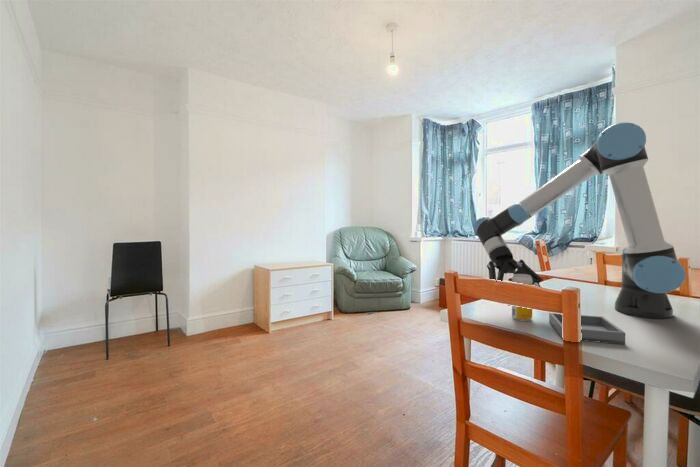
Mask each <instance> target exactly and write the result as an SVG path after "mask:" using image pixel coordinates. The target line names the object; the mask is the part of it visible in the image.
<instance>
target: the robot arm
mask: <svg viewBox="0 0 700 467" xmlns="http://www.w3.org/2000/svg"><path fill="white" fill-rule="evenodd" d="M646 143H647V134H646V132H645V130H644V129H643V128H642V126H640V125H638V124H636V123H632V122H625V121H624V122H617V123H615V124H612V125H610V126H608V127H606V128H605V129H603V130H602V131H601V132H600V133H599V135H598V136H597V138H596V141H595V142H594V143H593V144H592V146H591V147H590V148H588V149H587V150H586V151H585V152H584V153H582V154H581V155H580V156H579V159H578V160H577V161H575V162H574V163H573V164H572V165H570V166H568V167H566V168H565V169H564V170H563V171H562V172H560V173H558V174H557V175H556V176H555V177H553V178H552V179H550V180H549V181H547V182H546V183H545V184H543V185H542V186H540V187H539V188H538V189H536V190H534V191H533V192H532V193H531V194H530V195H527V196H526V197H525V198H524V199H522V200H520V201H519V202H516V203H514V204H511V205H509V207H507V208H505V209H504V210H502V211H501V212H499V213H498V214H497V215H495V216H493V217H492V218H491V217H489V216H483V217H482V218H481V217H480V218H478V219H477V220H475V221H474V223H473V229H474V231H475V233H476V236H477V237H478V239H479V240H480V243H481V245H482V246H483V248H484V250H485V251H486V254H487V255H488V257H489V260H490V261H489V262H488V263H487V265H486V268H487V269H488V278H489V279H495V280H496V281H497V280H501V281H503V282H504V276H505V274H513V275H514V274H527V275H531V277H532V279H533V283H532V285H535V286H538V287H541V288H542V286H541V285H540V283H541V282H542V281H543V278H542V277H540V276H539V275H538V274H537V273H536V272H535V271H534V270H533V269H531V267H529V266H528V265H527V264H526V262H525V261H524V260H523V259H520V260H518V261H516V260H515V259H514V255H513V253H512V251H511V249H510V248H509V246H508V244H507V243H506V241H505V240H504V238H503V237H502V236H503V235H504V234H506V233H508V232H509V231H511V230H513V229H515V228H516V227H517V228H518V227H520V226H521V225H522V224H524V223H526V221H528V220H529V219H531V218H532V217H534V216H535V215H537V214H539V212H541V211H542V210H544V209H546V208H547V207H549V206H550V205H551V204H553V203H555V202H556V201H558V200H559V199H561V198H562V197H563V196H565V195H566V194H568V193H570V192H571V191H572V190H574V189H575V188H577V187H578V186H580V185H582V184H583V183H585V182H586V181H587V180H589V179H590V178H591V177H593V176H599V175H601V174H605V175H607V176H609V179H610V180H609V181H610V185H611V187H612V191H613V194H614V197H615V201H616V205H617V209H618V213H619V216H620V219H621V224H622V228H623V230H624V234H625V235H624V236H625V237H626V241H627V244H628V245H627V247H624V248H623V249H622V251H621V252H622V253H621V257H622V258H621V259H622V260H621V289H620V291H619V293H618V296H616V300H615V302H614V309H615V310H616V311H617V312H620V313H623V314H627V315H630V316H635V317H641V318H651V319H671V318H673V316H674V309H673V306H672V304H671V302H670V300H669V297H668V294H667V293H672V292H674V291H676V290H677V289H679V288H680V287H681V286H682V285H683V284H684V283H685V280H686V276H687V275H686V270H685V268H684V266H683V264H682V263H681V262H680V261H679V260H678V258H677V254H676V251H675V248H674V245H673V244H671V243H669V242H667V241H666V240H665V237H664V234H663V231H662V230H663V229H662V228H661V224H660V221H659V220H660V219H659V216H658V213H657V209H656V206H655V203H654V198H653V196H652V191H651V189H650V186H649V181H648V178H647V174H646V171H645V167H644V166H645V165H646V164H647V162H648V161H649V158H648V154H647V149H646V147H645V146H646ZM496 269H497V270H498V271H497V272H496ZM496 273H497V274H496ZM507 306H508V307H509V306H511V305H507Z"/></svg>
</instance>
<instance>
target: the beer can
mask: <svg viewBox="0 0 700 467" xmlns="http://www.w3.org/2000/svg"><path fill="white" fill-rule="evenodd" d="M512 282H517V283H523V284H529V285H532V283H533V279H532V277H531V275H527V274H513V275H512V278H511V283H512ZM511 316H512V317H513V319H514V320H515V321H519V322H529V321H531V320H532V319H533V308H532V309H527V308H522V307H516V306H512V305H511Z"/></svg>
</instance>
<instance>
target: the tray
mask: <svg viewBox="0 0 700 467" xmlns="http://www.w3.org/2000/svg"><path fill="white" fill-rule="evenodd" d="M548 314H549V315H548V321H549V322H548V323H549V324H550V326H551V327H552V328H553V329H554V331H555V332H556V333H557V334H558V335H559V337H560V338H561V339H562V315H561V314H562V313H559V314H557V313H556V312H549V313H548ZM580 315H581V327H582V329H581V333H582V341H583V342H585V341H584V340H588V341H587V342H591V341H600V342H599V343H602V342H607V343H606V344H613V343H617V344H616V345H624V344H625V345H626V332H625V331H624V330H623V329H621V328H619V327H618V326H616V325H615V324H614V323H613V322H611V321H610V320H609V319H607V318H605V317H604V316H600V315H585V314H580Z"/></svg>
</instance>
